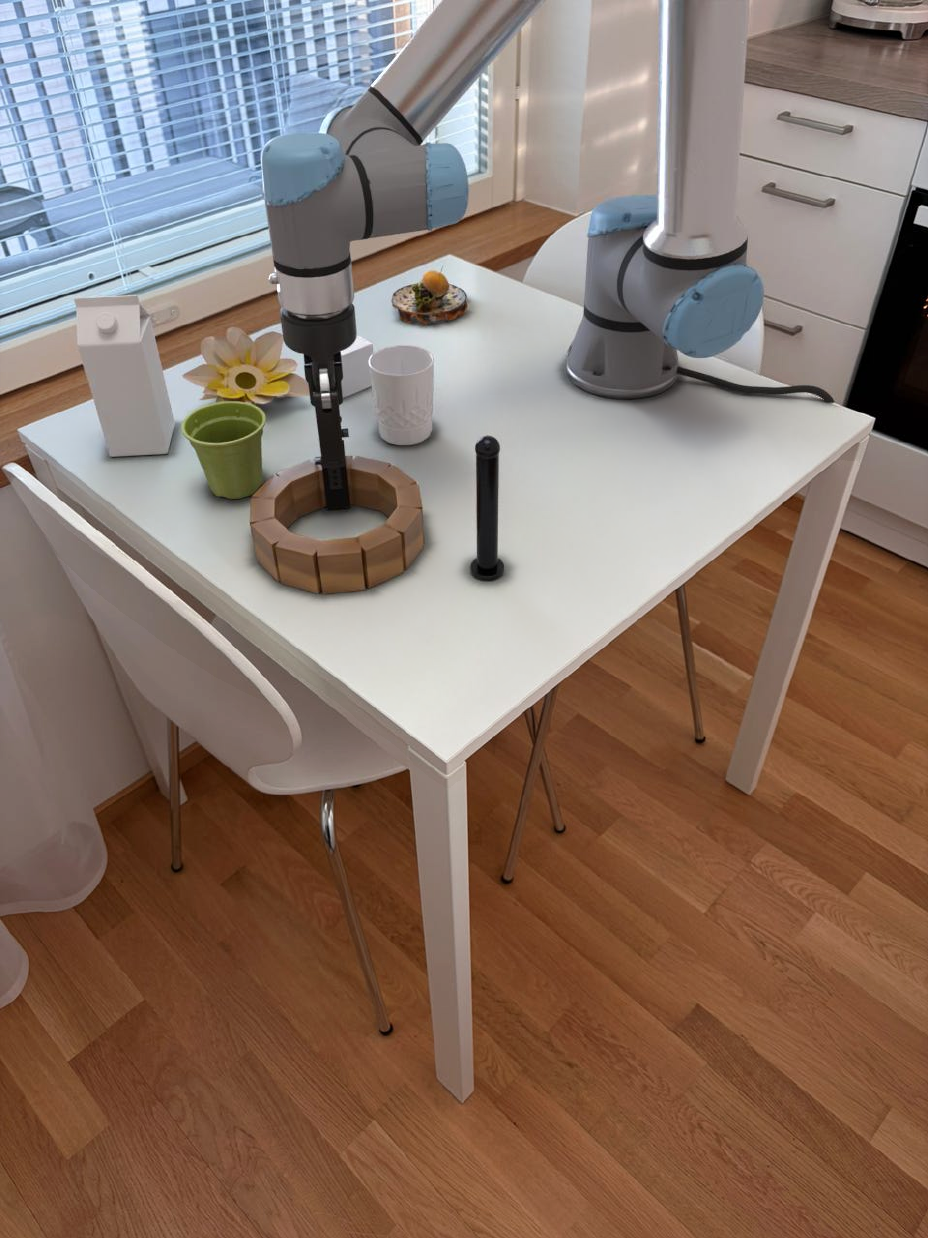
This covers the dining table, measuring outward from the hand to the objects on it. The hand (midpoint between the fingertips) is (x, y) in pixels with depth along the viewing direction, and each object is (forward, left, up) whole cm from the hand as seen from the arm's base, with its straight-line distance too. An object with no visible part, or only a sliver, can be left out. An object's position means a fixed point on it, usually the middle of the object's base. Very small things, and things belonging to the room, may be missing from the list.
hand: (337, 498), depth 115 cm
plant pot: (+12, -5, 0) cm, 13 cm away
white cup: (-9, -14, 0) cm, 17 cm away
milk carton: (+24, -17, 0) cm, 29 cm away
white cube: (-2, -28, 0) cm, 28 cm away
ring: (0, +8, 0) cm, 8 cm away
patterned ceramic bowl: (-16, -50, 0) cm, 52 cm away
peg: (-15, +15, 0) cm, 22 cm away
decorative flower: (+11, -24, 0) cm, 26 cm away
